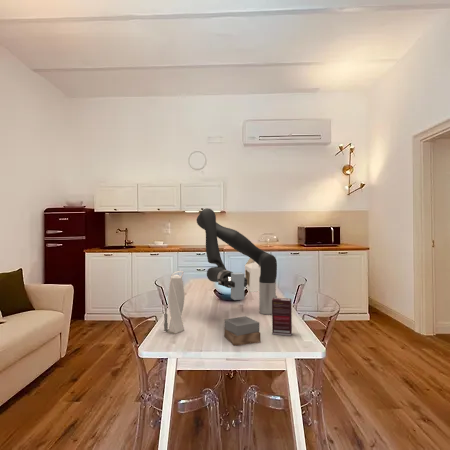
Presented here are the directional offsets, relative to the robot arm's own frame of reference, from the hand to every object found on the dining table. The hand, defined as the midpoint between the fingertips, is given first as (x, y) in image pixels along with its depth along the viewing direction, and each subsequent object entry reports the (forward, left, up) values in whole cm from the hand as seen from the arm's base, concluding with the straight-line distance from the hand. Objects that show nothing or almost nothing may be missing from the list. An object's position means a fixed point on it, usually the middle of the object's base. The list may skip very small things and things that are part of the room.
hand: (239, 284), depth 145 cm
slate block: (0, -3, -6) cm, 7 cm away
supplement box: (-21, -2, -24) cm, 32 cm away
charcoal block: (-1, -1, -20) cm, 20 cm away
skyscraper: (+24, -22, -24) cm, 40 cm away
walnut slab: (-1, -1, -24) cm, 25 cm away
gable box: (-53, -101, -24) cm, 117 cm away
